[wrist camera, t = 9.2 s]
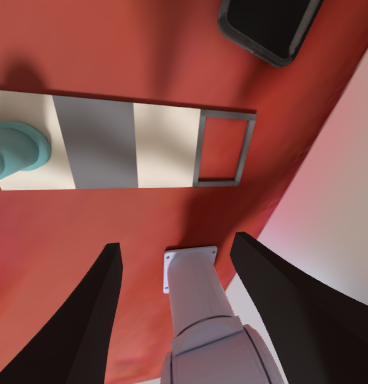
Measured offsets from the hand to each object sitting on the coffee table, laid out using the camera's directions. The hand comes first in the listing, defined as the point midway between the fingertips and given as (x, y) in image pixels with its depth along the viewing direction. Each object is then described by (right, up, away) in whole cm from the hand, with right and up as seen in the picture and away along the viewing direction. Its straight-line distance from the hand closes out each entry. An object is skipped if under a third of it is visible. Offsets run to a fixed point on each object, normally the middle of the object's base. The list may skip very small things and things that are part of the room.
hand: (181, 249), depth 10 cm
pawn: (-13, +7, +3) cm, 16 cm away
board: (-4, +8, +6) cm, 11 cm away
